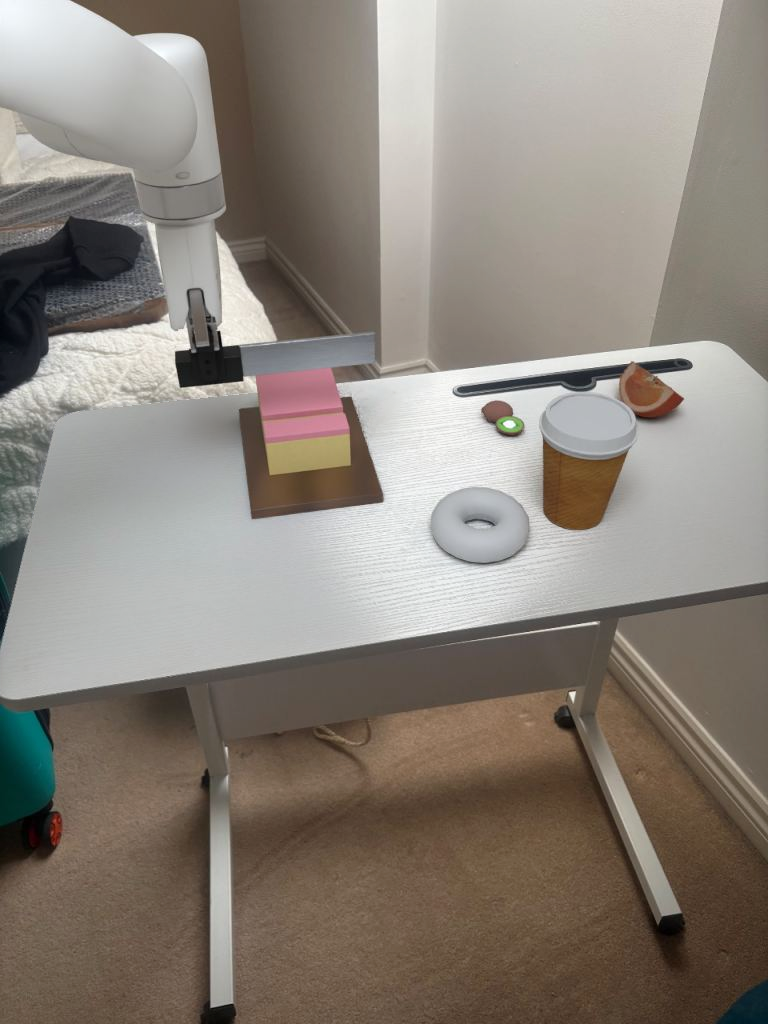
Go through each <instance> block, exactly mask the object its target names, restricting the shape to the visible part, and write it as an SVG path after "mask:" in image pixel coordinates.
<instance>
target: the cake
mask: <svg viewBox="0 0 768 1024" xmlns="http://www.w3.org/2000/svg"><path fill="white" fill-rule="evenodd" d="M255 384H256V393H257V401H258V406H259V409H260V416H261V422H262V428H263V435H264V427H263V422H272V421H281V420H290V419H299V418H308V417H317V416H326V415H334V414H343V405H342V402H341V399H340V398H341V396H340V392H339V389H338V385H337V382H336V379H335V376H334V373H333V368H324V369H314V370H304V371H295V372H285V373H275V374H266V375H256V376H255ZM264 441H265V435H264ZM265 448H266V444H265Z"/></svg>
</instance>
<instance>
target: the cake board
mask: <svg viewBox="0 0 768 1024" xmlns="http://www.w3.org/2000/svg"><path fill="white" fill-rule="evenodd" d="M340 399H341V402H342V405H343V413H345V415H346V418H347V422H348V425H349V429H350V456H351V465H350V466H342V467H334V468H326V469H318V470H310V471H301V472H293V473H285V474H277V475H270V474H269V467H268V461H267V453H266V448H265V441H264V435H263V428H262V422H261V416H260V409H259V405H258V406H251V407H242V408H241V407H240V408H238V418H239V424H240V425H239V426H240V433H241V441H242V450H243V457H244V466H245V473H246V475H245V476H246V482H247V491H248V492H247V493H248V500H249V507H250V515H251V516H250V517H251V520H256V519H263V518H264V519H265V518H270V517H278V516H286V515H294V514H295V515H296V514H300V513H301V514H303V513H308V512H309V513H310V512H316V511H325V510H332V509H333V510H334V509H339V508H341V509H342V508H347V507H356V506H363V505H373V504H379V503H383V502H384V493H383V490H382V487H381V483H380V481H379V477H378V473H377V472H376V471H377V470H376V468H375V465H374V462H373V459H372V455H371V453H370V449H369V446H368V443H367V440H366V437H365V434H364V431H363V428H362V425H361V421H360V419H359V416H358V411H357V409H356V406H355V402H354V400H353V396H351V395H350V396H342V397H341V396H340Z"/></svg>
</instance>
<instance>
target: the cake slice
mask: <svg viewBox="0 0 768 1024" xmlns="http://www.w3.org/2000/svg"><path fill="white" fill-rule="evenodd" d="M263 427H264V435H265V444H266V453H267V461H268V467H269V474H270V475H277V474H285V473H293V472H301V471H310V470H318V469H326V468H334V467H342V466H350V465H351V456H350V429H349V425H348V422H347V418H346V415H345V413H343V414H334V415H326V416H317V417H308V418H299V419H290V420H281V421H272V422H263Z"/></svg>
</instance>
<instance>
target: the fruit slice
mask: <svg viewBox="0 0 768 1024" xmlns="http://www.w3.org/2000/svg"><path fill="white" fill-rule="evenodd" d="M658 376H659V375H655V374H653V373H651V372H650V371H648V370H646V369H645V368H643V367H642V366H641V365H639V364H638V363H636V362H635V361H633V360H631V361H630V363H629V364H628V365H627V367H626V368H625V369H624V370H623V373H622V374H620V377H619V382H618V388H619V389H618V391H619V396H620V399H621V402H623V403H624V404H626V405H627V406H628V407H629V408H630V409H631V410H632V411H633V413H634V415H637V416H640V417H644V418H659V417H662V416H664V415H667V414H669V413H671V412H672V411H674V410H675V409H676V408H678V407H679V406H680V405H681V404H682V402H684V400H685V398H684V396H682V395H680V394H679V393H678V392H677V391H676V390H674V389H673V388H672V387H671V386H669V385H667V384H666V383H665V382H664V381H662V380H661V378H659V377H658Z"/></svg>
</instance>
